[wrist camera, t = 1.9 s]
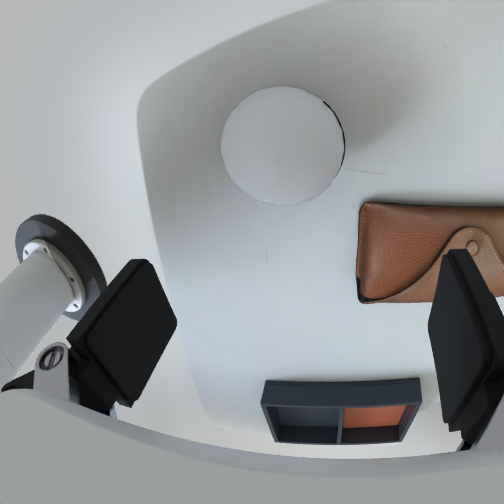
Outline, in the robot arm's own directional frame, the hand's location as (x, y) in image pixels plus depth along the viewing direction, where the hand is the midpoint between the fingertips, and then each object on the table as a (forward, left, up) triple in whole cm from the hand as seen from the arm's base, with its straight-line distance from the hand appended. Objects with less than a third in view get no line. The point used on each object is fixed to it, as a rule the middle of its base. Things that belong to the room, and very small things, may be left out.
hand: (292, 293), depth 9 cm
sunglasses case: (+12, -8, -15) cm, 20 cm away
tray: (+2, -34, -15) cm, 37 cm away
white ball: (0, +1, -15) cm, 15 cm away
